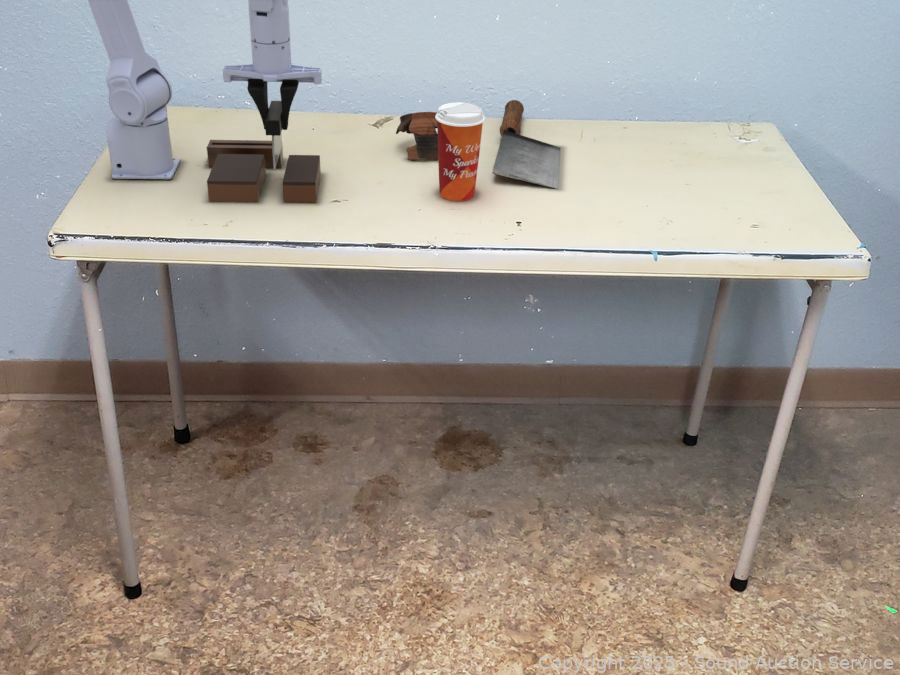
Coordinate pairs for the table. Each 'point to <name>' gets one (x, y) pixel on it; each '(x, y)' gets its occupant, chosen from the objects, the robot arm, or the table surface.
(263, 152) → the knife block
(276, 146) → the bench scraper
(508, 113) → the meat cleaver
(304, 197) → the brown rectangular block
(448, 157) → the paper cup
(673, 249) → the table surface
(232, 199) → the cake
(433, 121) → the brown irregular chunky piece
